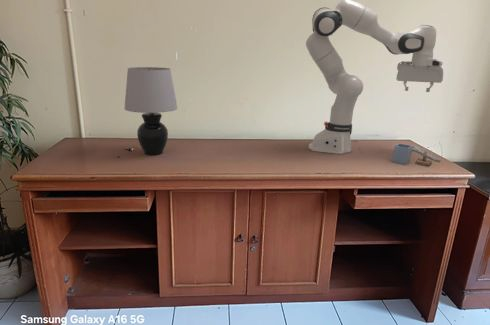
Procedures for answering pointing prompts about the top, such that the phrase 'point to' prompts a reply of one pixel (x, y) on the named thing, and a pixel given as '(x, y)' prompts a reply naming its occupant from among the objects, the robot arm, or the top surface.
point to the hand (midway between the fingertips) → (416, 91)
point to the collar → (402, 154)
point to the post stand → (423, 161)
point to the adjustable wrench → (416, 149)
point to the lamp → (150, 104)
